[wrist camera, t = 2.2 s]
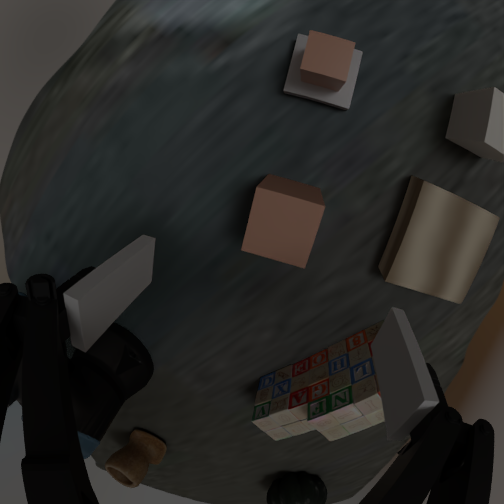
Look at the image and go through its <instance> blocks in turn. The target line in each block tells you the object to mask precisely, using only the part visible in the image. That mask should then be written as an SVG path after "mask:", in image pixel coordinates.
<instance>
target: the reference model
mask: <svg viewBox="0 0 504 504" xmlns="http://www.w3.org/2000/svg"><path fill="white" fill-rule="evenodd" d="M354 47H355V42H352V41H348V40H345V39H342V38H338V37H335V36H331V35H328V34H324V33H320V32H316V31H312V30H310V32H309V36H306V35H302V34H298V37H297V40H296V44H295V48H294V52H293V56H292V60H291V63H290V67H289V71H288V75H287V79H286V83H285V87H284V90H283V91H284V93H286V94H290V95H294V96H298V97H302V98H305V99H309V100H313V101H316V102H320V103H323V104H327V105H330V106H333V107H337V108H340V109H343V110H348V109H349V107H350V103H351V99H352V95H353V91H354V87H355V83H356V78H357V74H358V70H359V66H360V61H361V57H362V53H363V52H362V51H359V50H356V49H354Z"/></svg>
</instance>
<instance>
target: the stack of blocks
mask: <svg viewBox="0 0 504 504" xmlns="http://www.w3.org/2000/svg"><path fill="white" fill-rule="evenodd" d="M383 322H384V320H382V321H381V322H379V323H377V324H375V325H373V326H371V327H369V328H367V329H365V330H362V331H361V332H359V333H357V334H355V335H353V336H351V337H349V338H347V339H345V340H343V341H340V342H338V343H336V344H334V345H332V346H330V347H328V348H327V349H325V350H323V351H321V352H319V353H317V354H315V355H312V356H311V357H309V358H307V359H304V360H302V361H300V362H297V363H295V364H293V365H289V366H287V367H285V368H282V369H280V370H277V371H276V372H273V373H270V374H268V375H265V376H263V377H261V378H260V382H259V386H258V392H257V395H256V399H255V404H254V405H255V407H254V412H253V417H252V422H253V423H254V424H255V425H256V426H258V427H259V428H260V429H261V430H262V431H265V433H267V434H268V435H269V436H270V437H272V438H273V439H274V440H275V441H277V440H280V439H284V438H288V437H291V436H296V435H299V434H302V433H306V432H309V431H311V430H315V429H316V430H318V431H319V432H320V433H322V434H323V435H324V436H325V437H326V438H327V439H328V440H329V441H333V440H336V439H339V438H342V437H345V436H348V435H350V434H353V433H356V432H358V431H361V430H363V429H366V428H369V427H371V426H373V425H376V424H378V423H381V422H383V421H385V418H384V412H383V406H382V400H381V394H380V389H379V384H378V378H377V373H376V368H375V363H374V359H373V354H372V349H371V344H372V342H373V340H374V339H375V337H376V335H377V333H378V331H379V330H380V328H381V326H382V324H383Z"/></svg>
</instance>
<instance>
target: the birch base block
mask: <svg viewBox="0 0 504 504" xmlns="http://www.w3.org/2000/svg"><path fill="white" fill-rule="evenodd" d="M498 221H499V217H497V216H496V215H494V214H492V213H490V212H488V211H486V210H485V209H483V208H481V207H479V206H477V205H475V204H473V203H471V202H469V201H467V200H465V199H463V198H461V197H459V196H457V195H455V194H453V193H450V192H448V191H446V190H444V189H442V188H440V187H437V186H435V185H433V184H431V183H428V182H426V181H424V180H421V179H419V178H417V177H414V176H411V179H410V182H409V185H408V188H407V191H406V194H405V197H404V200H403V203H402V206H401V209H400V211H399V214H398V217H397V220H396V222H395V225H394V228H393V231H392V233H391V236H390V238H389V241H388V243H387V246H386V248H385V251H384V253H383V256H382V258H381V261H380V263H379V265H378V268H379V270H380V272H381V274H382V276H383V278H384V280H385V281H386V282H389V283H392V284H396V285H399V286H402V287H406V288H409V289H413V290H416V291H419V292H423V293H426V294H429V295H432V296H436V297H439V298H442V299H446V300H449V301H452V302H456V303H459V304H461V303H462V301H463V299H464V298H465V296H466V294H467V292H468V290H469V288H470V286H471V284H472V282H473V280H474V278H475V276H476V274H477V272H478V269H479V267H480V265H481V263H482V261H483V258H484V256H485V254H486V251H487V249H488V247H489V244H490V242H491V239H492V237H493V234H494V232H495V229H496V226H497V224H498Z"/></svg>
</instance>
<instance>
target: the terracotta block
mask: <svg viewBox="0 0 504 504" xmlns="http://www.w3.org/2000/svg"><path fill="white" fill-rule="evenodd" d="M324 209H325V204H324V201H323V197H322V194H321V190H320V188H317V187H314V186H310V185H307V184H303V183H300V182H297V181H293V180H289V179H286V178H282V177H279V176H275V175H271V174H268V175H267V176H266V177H265V178H264V179H263V181H262V182H261V183H260V184H259V185H258V186H257V187H256V191H255V195H254V200H253V204H252V208H251V212H250V216H249V220H248V224H247V228H246V232H245V236H244V241H243V245H242V249H241V250H242V251H246V252H249V253H253V254H256V255H260V256H263V257H267V258H270V259H273V260H277V261H280V262H284V263H287V264H291V265H294V266H298V267H301V268H305V266H306V263H307V260H308V257H309V254H310V252H311V249H312V246H313V243H314V240H315V237H316V233H317V230H318V227H319V224H320V221H321V218H322V215H323V212H324Z"/></svg>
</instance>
